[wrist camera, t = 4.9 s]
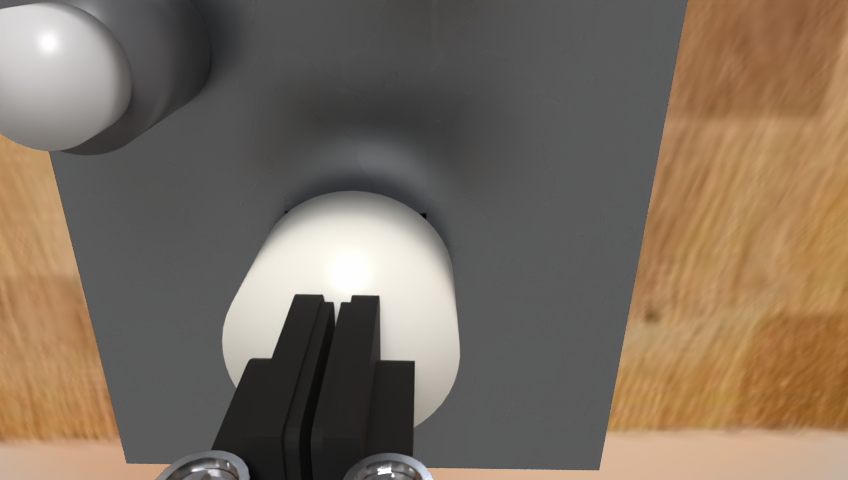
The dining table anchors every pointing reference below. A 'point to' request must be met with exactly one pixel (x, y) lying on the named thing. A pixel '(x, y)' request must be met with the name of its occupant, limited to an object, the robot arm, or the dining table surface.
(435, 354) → the cream knob
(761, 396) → the dining table surface
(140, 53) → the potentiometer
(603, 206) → the mount
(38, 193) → the dining table surface
